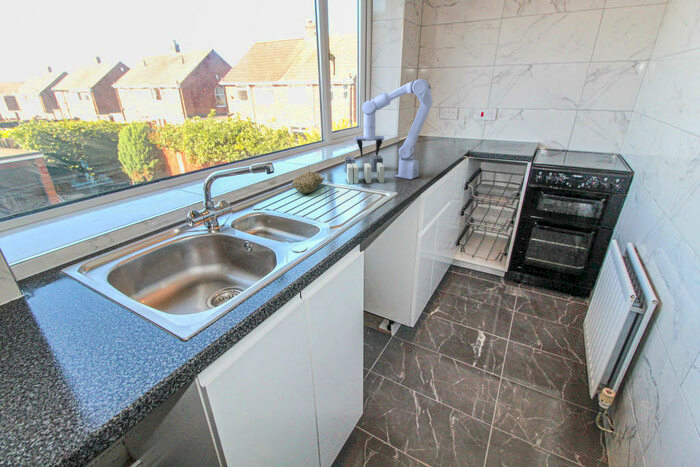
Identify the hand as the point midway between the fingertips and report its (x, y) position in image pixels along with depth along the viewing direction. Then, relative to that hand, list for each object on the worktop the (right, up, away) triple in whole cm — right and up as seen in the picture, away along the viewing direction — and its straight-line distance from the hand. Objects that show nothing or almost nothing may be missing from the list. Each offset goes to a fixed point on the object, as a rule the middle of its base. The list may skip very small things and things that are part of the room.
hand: (369, 155), depth 166 cm
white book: (-1, -14, -9) cm, 17 cm away
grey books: (-2, -5, +13) cm, 14 cm away
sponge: (-28, -20, -21) cm, 41 cm away
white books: (-2, -14, -9) cm, 17 cm away
